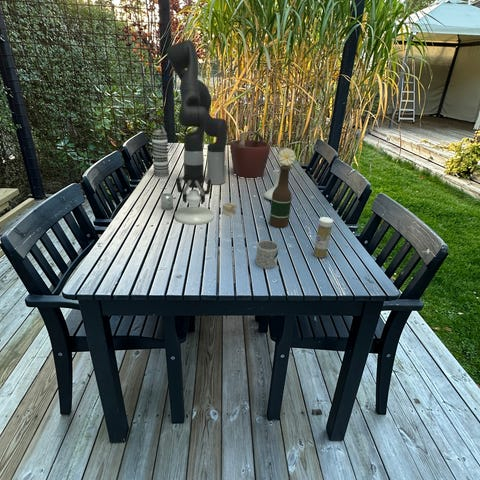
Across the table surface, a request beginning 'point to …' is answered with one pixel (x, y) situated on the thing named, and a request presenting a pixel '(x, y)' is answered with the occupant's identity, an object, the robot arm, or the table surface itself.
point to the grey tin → (166, 201)
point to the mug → (267, 254)
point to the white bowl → (194, 215)
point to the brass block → (229, 209)
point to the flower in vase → (285, 158)
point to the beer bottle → (281, 200)
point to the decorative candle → (160, 154)
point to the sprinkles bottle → (323, 237)
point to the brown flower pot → (249, 156)
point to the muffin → (193, 198)
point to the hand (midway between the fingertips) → (193, 202)
